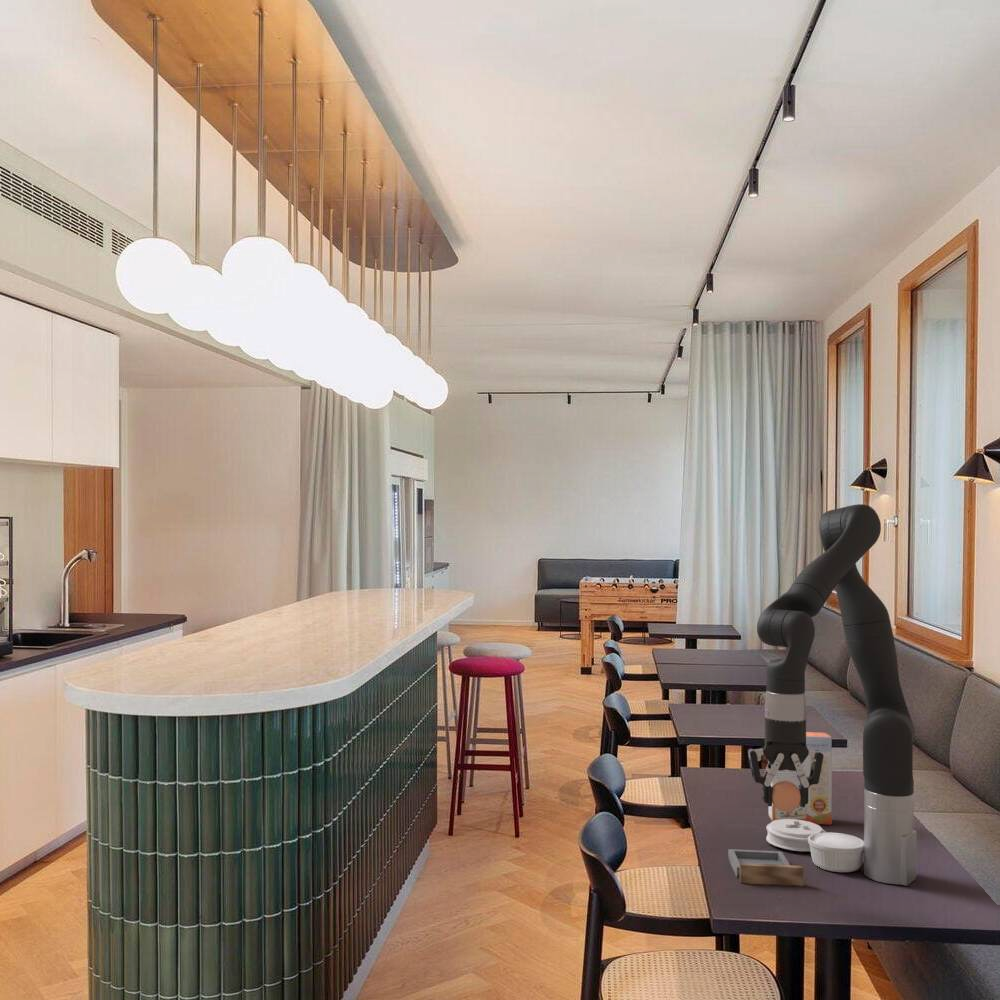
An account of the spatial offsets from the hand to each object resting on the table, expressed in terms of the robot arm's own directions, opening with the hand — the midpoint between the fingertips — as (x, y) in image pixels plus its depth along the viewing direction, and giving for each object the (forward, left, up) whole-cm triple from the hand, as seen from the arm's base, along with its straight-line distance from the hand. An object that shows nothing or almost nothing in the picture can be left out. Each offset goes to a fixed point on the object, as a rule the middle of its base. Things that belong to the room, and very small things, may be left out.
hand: (785, 805), depth 181 cm
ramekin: (0, -25, -17) cm, 30 cm away
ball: (0, 0, +2) cm, 2 cm away
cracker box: (+19, -50, -18) cm, 56 cm away
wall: (+5, -6, -17) cm, 19 cm away
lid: (+12, -32, -18) cm, 38 cm away
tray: (+11, -12, -17) cm, 23 cm away
